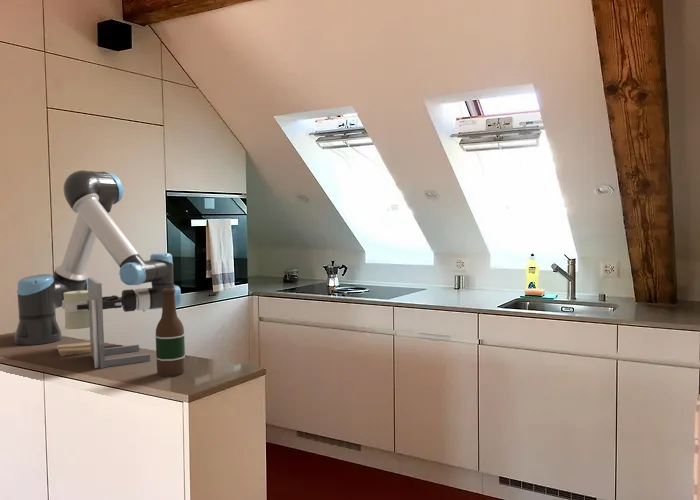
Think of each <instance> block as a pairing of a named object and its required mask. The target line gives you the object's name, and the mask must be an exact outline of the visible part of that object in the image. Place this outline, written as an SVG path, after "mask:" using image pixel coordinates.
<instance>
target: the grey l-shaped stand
mask: <svg viewBox="0 0 700 500" xmlns="http://www.w3.org/2000/svg"><path fill="white" fill-rule="evenodd" d="M87 279H88V300H89V322H90V327H89V340H90V341H89V342H90V345H91V353H90V356H91V358H92V359H93V360H94V369H99V368H100V369H106V368H109V367H117V366H123V365H124V366H125V365H131V364H138V363H147V362H151V354H150V353H145V354H139V355H130V356H122V357H116V358H115V357H113V358H106V357H105V356H110V355H118V354H125V353H126V354H128V353H135V352H140V345H139V344H131V345H123V346H113V347H106V348H105V334H104V314H103V313H104V311H103V310H104V309H103V307H102V297H103V288H102V285H103V283H101V282H100V281H99V280H97V279H94V278H93V277H87Z"/></svg>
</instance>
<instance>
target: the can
mask: <svg viewBox="0 0 700 500" xmlns="http://www.w3.org/2000/svg"><path fill="white" fill-rule="evenodd" d="M63 294H64V306H65V304H70V303H81V302H87V304H88V290H84V291H71V292H65V293H63ZM64 321H65V322H64V324H65V326H64V328H65V329H67V330H80V329H88V328H89V329H90V322H89V310H88V309H87V311H76V312H66V311H65V310H64Z"/></svg>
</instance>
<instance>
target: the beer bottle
mask: <svg viewBox="0 0 700 500" xmlns="http://www.w3.org/2000/svg"><path fill="white" fill-rule="evenodd" d="M174 293H175V289H173V288H166V289H163V290H162V294H163V302H162V308H161V309H162V311H161V318H160V319H159V321H158V323H157V325H156V328H155V354H156V358H155V359H156V370H157V371H156V373H157V375H158V376H161V377H165V378H166V377H176V376H180V375H183V374H184V373H185V372H186V349H185V348H186V347H185V345H186V344H185V328H184V325H183V323H182V321H181V319H180V318H179V317H178V313H177V306H176V304H175V294H174Z"/></svg>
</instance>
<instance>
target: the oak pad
mask: <svg viewBox="0 0 700 500" xmlns="http://www.w3.org/2000/svg"><path fill="white" fill-rule="evenodd" d="M56 348H57V352H58V353H59V355H60V357H65V356H66V355H67V356H74V355H73V354H75V355H82V354H89V353H90V354H91V345H90V341H84V342H81V341H80V342H73V343H66V344H65V343H64V344H57V345H56Z"/></svg>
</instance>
